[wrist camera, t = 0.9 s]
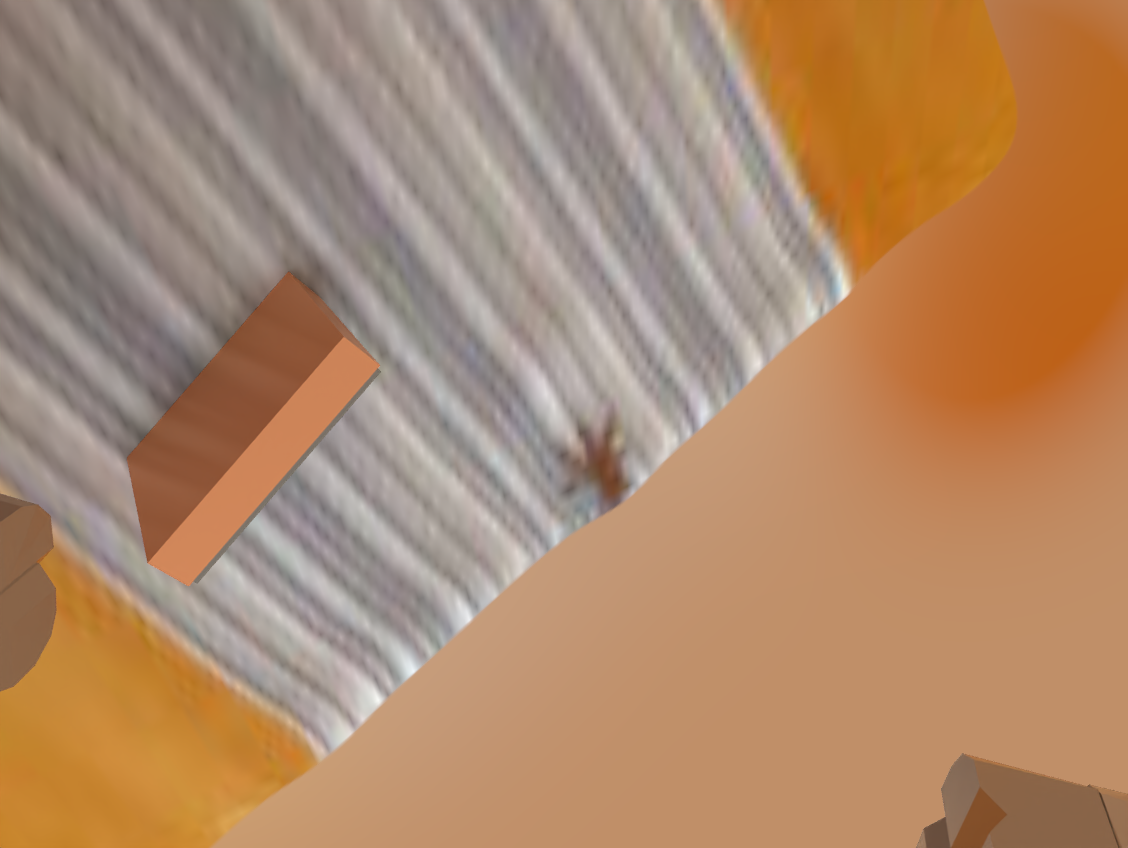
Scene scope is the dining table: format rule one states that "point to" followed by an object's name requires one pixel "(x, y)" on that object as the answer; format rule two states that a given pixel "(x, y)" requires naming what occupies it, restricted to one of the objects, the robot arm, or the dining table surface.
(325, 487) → the dining table surface
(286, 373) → the tile
